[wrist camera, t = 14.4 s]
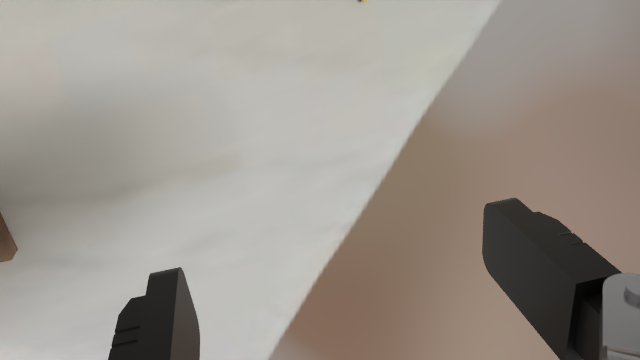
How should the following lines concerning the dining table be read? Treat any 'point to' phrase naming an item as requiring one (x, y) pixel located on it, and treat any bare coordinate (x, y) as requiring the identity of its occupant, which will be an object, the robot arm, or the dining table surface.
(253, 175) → the dining table surface
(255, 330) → the dining table surface
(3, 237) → the door track
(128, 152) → the dining table surface
